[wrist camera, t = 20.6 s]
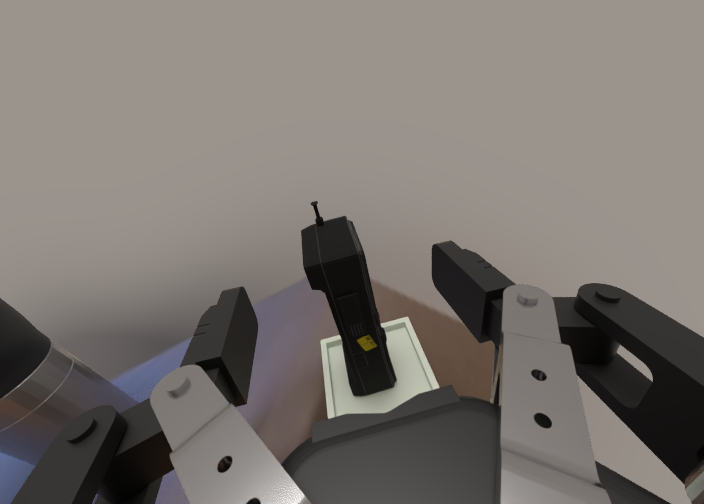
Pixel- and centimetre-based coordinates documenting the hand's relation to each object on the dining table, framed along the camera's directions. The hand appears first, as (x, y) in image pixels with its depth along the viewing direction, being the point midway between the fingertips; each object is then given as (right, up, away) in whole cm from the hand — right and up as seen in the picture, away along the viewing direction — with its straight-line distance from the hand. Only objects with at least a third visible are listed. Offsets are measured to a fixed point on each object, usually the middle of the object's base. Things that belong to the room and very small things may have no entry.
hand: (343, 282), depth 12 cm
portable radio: (+3, -15, +26) cm, 31 cm away
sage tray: (+4, -16, +26) cm, 31 cm away
